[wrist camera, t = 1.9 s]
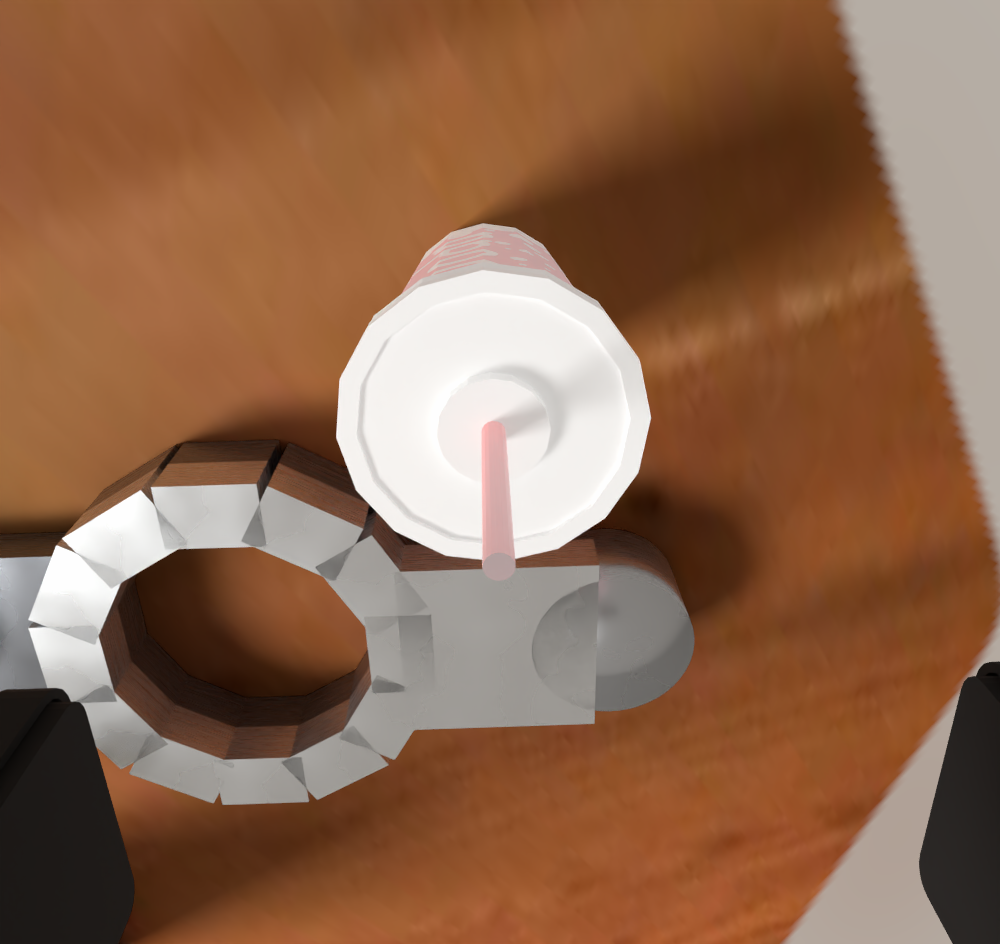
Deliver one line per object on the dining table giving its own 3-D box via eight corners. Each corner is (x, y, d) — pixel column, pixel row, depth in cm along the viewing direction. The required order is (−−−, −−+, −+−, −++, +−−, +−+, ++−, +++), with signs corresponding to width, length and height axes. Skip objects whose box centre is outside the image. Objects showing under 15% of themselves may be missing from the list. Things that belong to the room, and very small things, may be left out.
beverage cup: (593, 187, 23) (727, 345, 11) (596, 398, 26) (705, 720, 14) (369, 202, 23) (242, 376, 11) (394, 410, 26) (316, 744, 14)
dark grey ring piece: (-229, 455, 26) (-310, 501, 24) (427, 435, 27) (421, 478, 24) (-100, 752, 32) (-154, 818, 29) (447, 733, 32) (444, 797, 29)
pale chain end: (35, 447, 26) (-16, 492, 24) (686, 427, 27) (710, 469, 24) (120, 744, 32) (86, 809, 29) (663, 726, 32) (681, 789, 29)
